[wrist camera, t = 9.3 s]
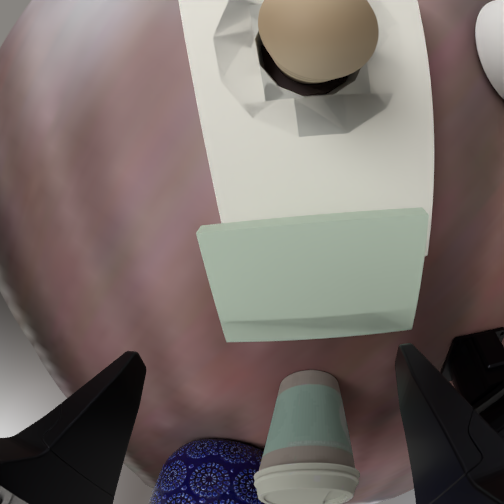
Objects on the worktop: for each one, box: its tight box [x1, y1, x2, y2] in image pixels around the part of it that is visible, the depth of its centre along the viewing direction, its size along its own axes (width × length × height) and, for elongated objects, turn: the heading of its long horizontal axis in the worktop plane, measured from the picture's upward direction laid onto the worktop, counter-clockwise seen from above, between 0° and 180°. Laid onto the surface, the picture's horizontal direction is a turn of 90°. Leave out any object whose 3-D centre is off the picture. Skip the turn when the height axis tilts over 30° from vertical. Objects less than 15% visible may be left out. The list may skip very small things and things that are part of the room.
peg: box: [258, 0, 379, 84], centre depth 11 cm, size 4×4×8 cm
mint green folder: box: [196, 207, 429, 342], centre depth 17 cm, size 6×10×7 cm, turn 99°
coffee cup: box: [254, 370, 360, 504], centre depth 23 cm, size 8×9×12 cm
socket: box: [178, 0, 434, 256], centre depth 15 cm, size 17×12×3 cm
